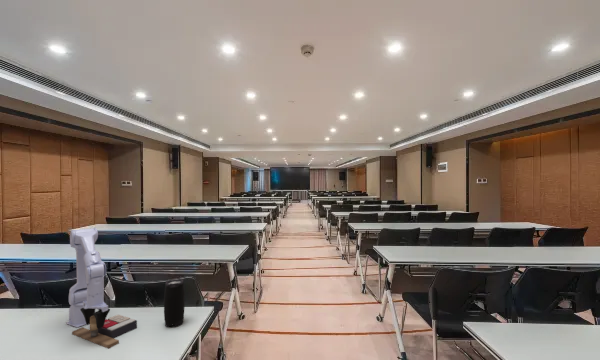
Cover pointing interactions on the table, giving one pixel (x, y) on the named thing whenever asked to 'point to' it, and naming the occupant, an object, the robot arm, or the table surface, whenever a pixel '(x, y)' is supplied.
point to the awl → (93, 327)
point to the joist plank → (96, 338)
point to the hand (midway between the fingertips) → (94, 325)
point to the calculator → (117, 326)
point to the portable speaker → (174, 302)
